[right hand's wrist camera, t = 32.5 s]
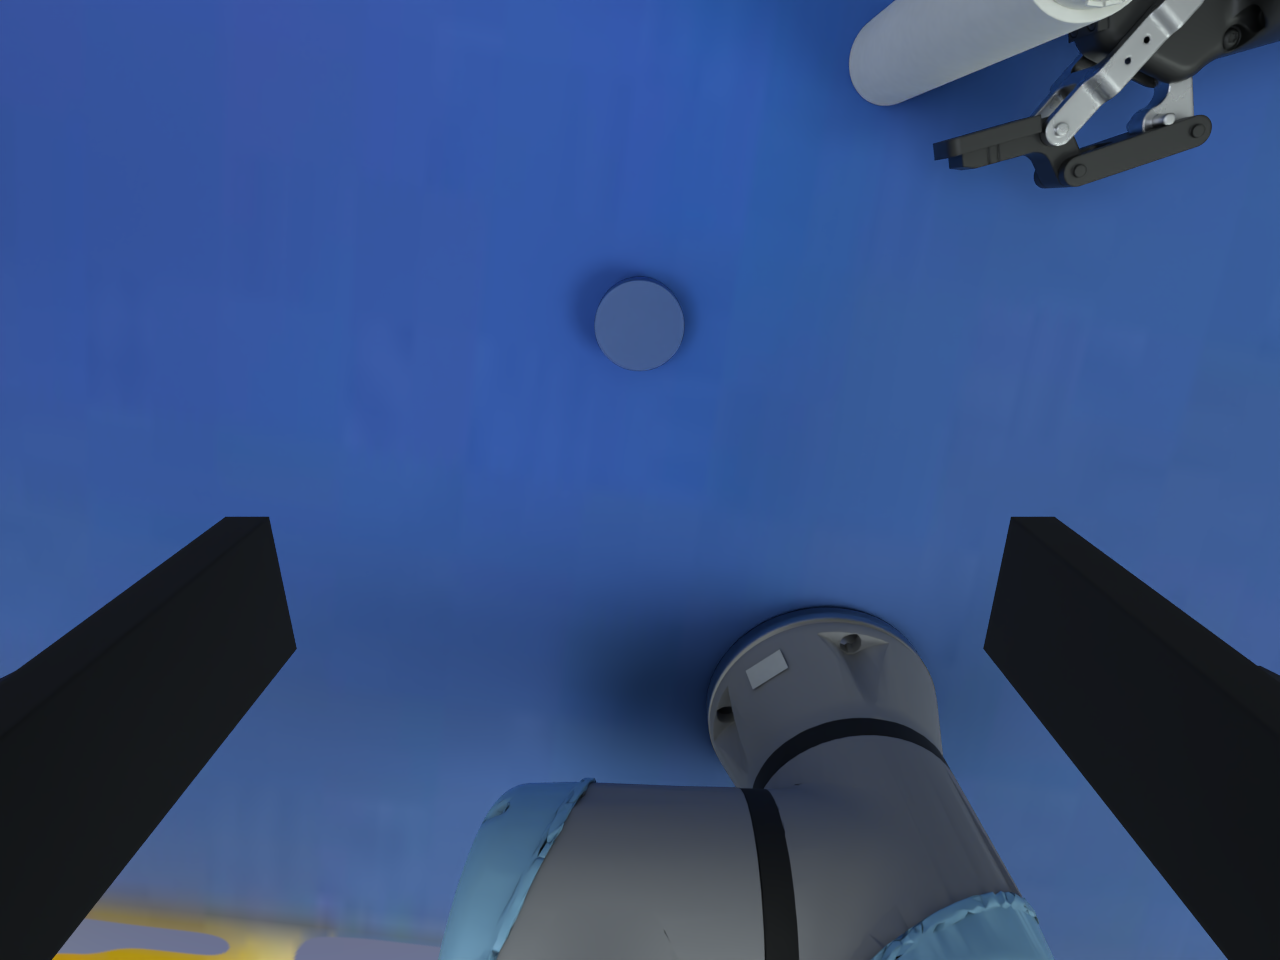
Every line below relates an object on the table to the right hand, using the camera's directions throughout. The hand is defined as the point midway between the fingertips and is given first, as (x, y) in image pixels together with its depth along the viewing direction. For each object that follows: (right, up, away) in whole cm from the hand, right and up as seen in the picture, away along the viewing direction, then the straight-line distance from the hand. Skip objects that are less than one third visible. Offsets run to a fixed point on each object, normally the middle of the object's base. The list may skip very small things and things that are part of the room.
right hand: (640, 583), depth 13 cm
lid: (0, +10, +25) cm, 27 cm away
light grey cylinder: (+12, +23, +22) cm, 34 cm away
